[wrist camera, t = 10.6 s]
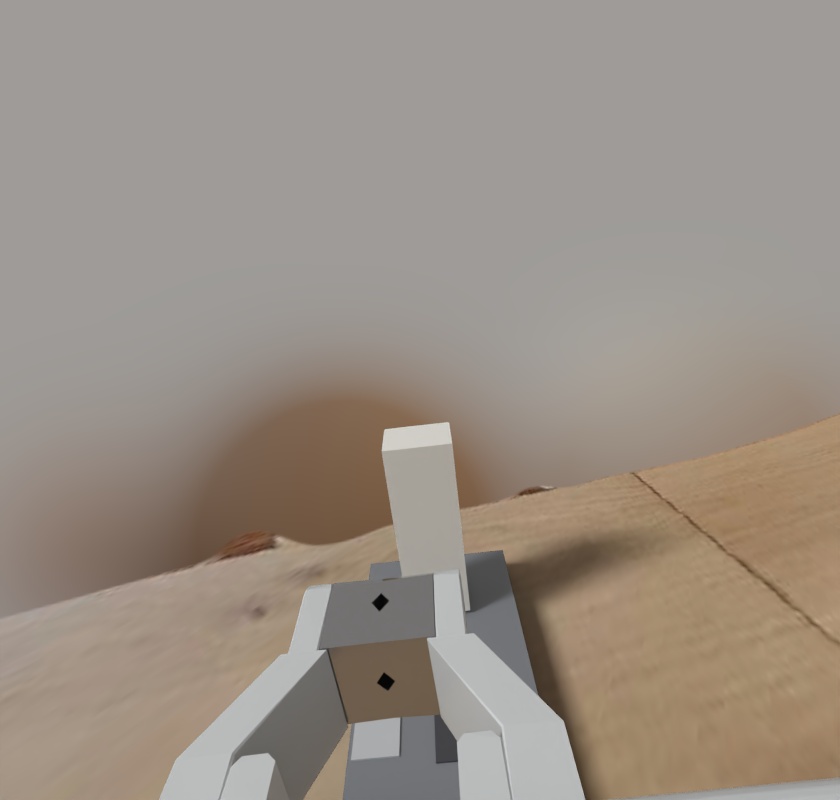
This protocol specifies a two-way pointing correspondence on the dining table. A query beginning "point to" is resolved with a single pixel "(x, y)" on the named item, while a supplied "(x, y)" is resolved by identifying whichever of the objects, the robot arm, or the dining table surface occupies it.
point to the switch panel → (429, 735)
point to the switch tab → (424, 500)
